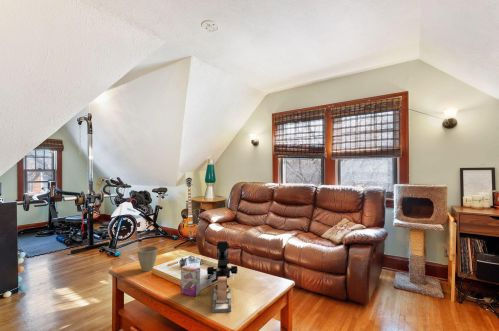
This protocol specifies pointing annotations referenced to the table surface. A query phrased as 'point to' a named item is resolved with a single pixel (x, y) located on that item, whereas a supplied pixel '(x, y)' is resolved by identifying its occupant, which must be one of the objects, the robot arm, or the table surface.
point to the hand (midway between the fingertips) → (222, 284)
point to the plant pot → (147, 257)
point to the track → (222, 306)
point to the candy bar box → (190, 280)
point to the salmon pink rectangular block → (222, 290)
